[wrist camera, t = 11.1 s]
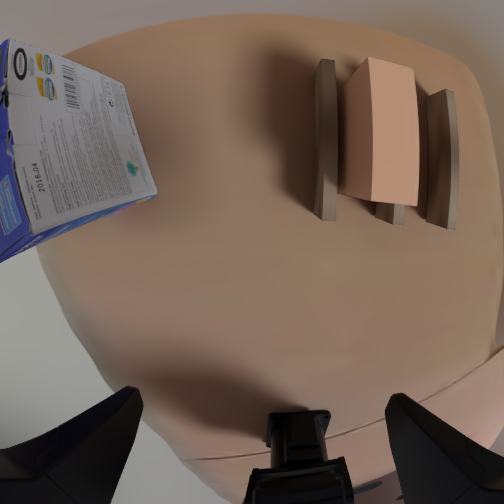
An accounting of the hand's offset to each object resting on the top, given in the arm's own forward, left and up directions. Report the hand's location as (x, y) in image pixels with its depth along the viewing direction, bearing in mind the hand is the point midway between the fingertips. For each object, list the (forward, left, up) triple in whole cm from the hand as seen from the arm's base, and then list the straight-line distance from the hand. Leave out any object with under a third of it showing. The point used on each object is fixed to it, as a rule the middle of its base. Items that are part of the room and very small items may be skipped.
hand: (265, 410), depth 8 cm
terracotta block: (+10, -6, -12) cm, 17 cm away
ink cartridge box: (+10, +12, -12) cm, 20 cm away
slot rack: (+10, -8, -12) cm, 18 cm away
